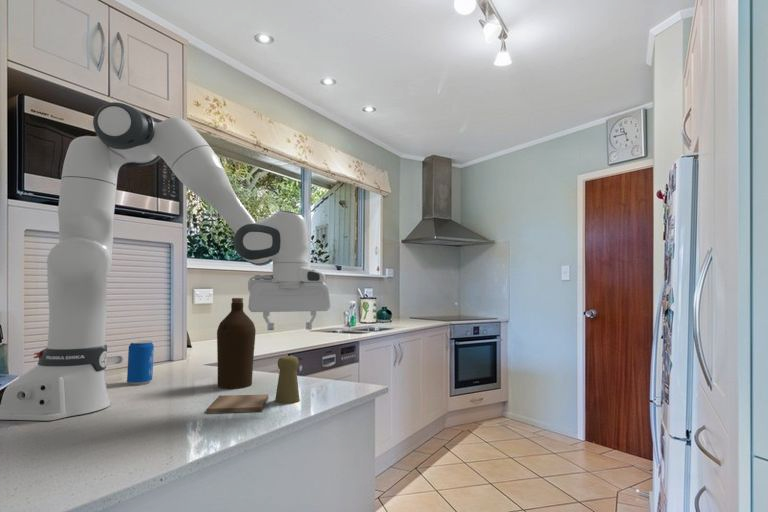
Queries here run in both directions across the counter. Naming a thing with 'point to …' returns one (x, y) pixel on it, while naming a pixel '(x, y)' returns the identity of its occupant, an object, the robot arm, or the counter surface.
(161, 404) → the counter surface
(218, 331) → the olive oil
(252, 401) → the walnut trivet
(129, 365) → the beverage can
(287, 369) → the cork
